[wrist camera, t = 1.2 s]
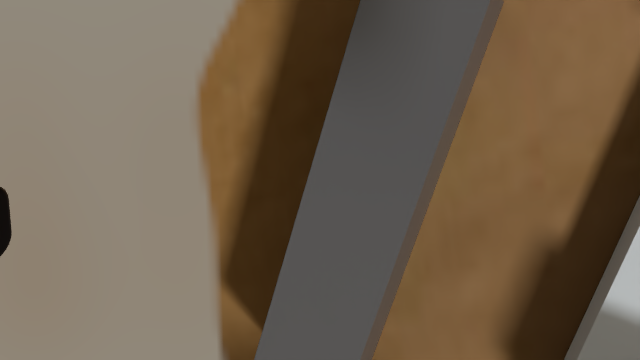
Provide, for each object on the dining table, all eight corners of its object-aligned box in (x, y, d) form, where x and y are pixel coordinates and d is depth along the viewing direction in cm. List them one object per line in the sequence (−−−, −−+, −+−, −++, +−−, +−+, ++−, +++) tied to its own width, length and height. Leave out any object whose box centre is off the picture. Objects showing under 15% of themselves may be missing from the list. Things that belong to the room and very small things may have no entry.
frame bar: (361, 389, 22) (324, 458, 18) (287, 353, 23) (238, 413, 19) (504, 2, 18) (493, -9, 14) (407, -26, 18) (373, -44, 15)
